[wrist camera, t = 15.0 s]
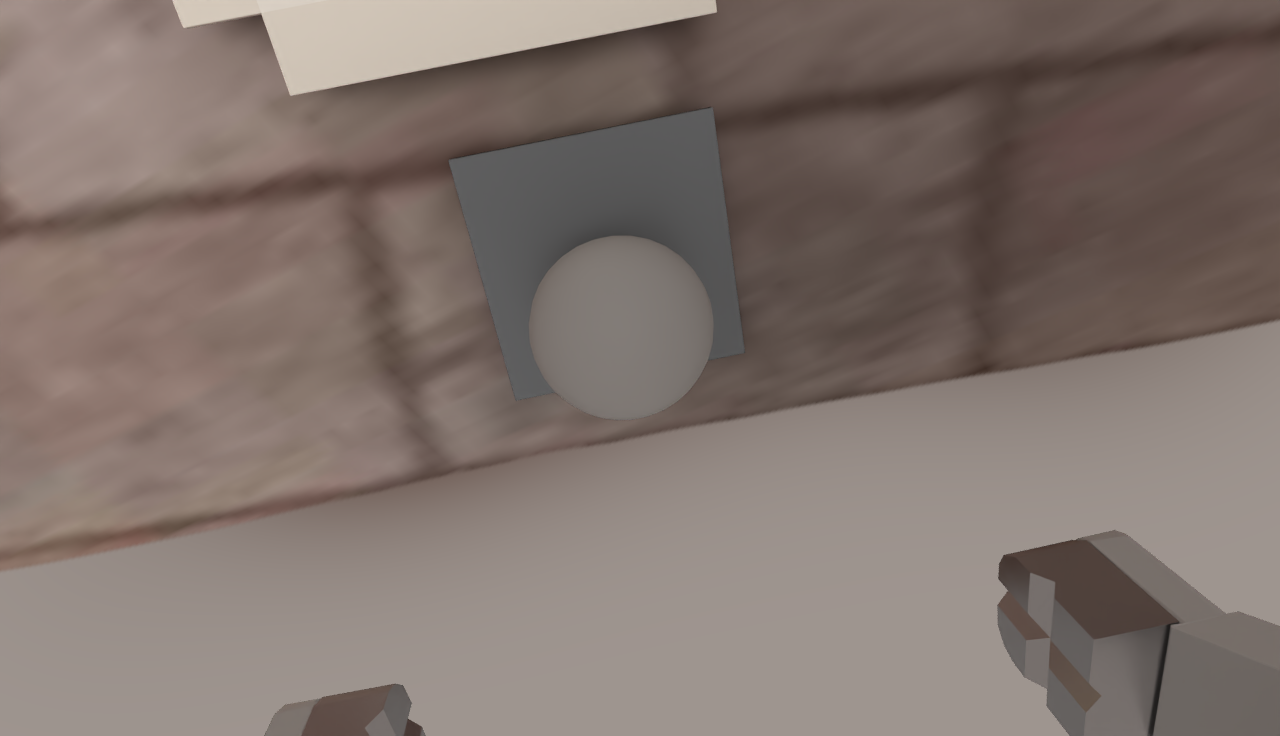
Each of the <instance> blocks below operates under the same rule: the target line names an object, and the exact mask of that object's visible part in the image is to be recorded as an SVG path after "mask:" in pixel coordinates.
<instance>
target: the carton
mask: <svg viewBox="0 0 1280 736" xmlns="http://www.w3.org/2000/svg"><path fill="white" fill-rule="evenodd" d="M172 1H173V3H174V6H175V8H176V11H177V13H178V16H179V18H180V21H181V23H182V26H183V28H186V29H190V28H195V27H200V26H205V25H210V24H215V23H221V22H226V21H231V20H236V19H241V18H247V17H252V16H257V15H262V17H263V20H264V23H265V25H266V28H267V31H268V34H269V37H270V40H271V42H272V45H273V48H274V51H275V54H276V56H277V59H278V62H279V65H280V68H281V71H282V73H283V76H284V79H285V82H286V85H287V87H288V90H289V93H290V96H294V95H300V94H305V93H310V92H315V91H320V90H325V89H330V88H335V87H340V86H346V85H351V84H356V83H361V82H366V81H371V80H376V79H381V78H386V77H391V76H397V75H402V74H407V73H412V72H417V71H422V70H427V69H432V68H437V67H443V66H448V65H453V64H458V63H463V62H468V61H473V60H478V59H483V58H488V57H494V56H499V55H504V54H509V53H514V52H519V51H524V50H529V49H534V48H540V47H545V46H550V45H555V44H560V43H565V42H570V41H575V40H580V39H585V38H591V37H596V36H601V35H606V34H611V33H616V32H621V31H626V30H631V29H637V28H642V27H647V26H652V25H657V24H662V23H667V22H672V21H677V20H682V19H688V18H693V17H698V16H703V15H708V14H713V13H716V12H717V8H716V0H172Z"/></svg>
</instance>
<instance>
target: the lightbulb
mask: <svg viewBox="0 0 1280 736" xmlns="http://www.w3.org/2000/svg"><path fill="white" fill-rule="evenodd" d="M713 327H714V325H713V314H712V308H711V303H710V300H709V297H708V295H707V292H706V289H705V287H704V285H703V284H702V282H701V281H700V279H699V277H698V276H697V274H696V273H695V271H694V270H693V269H692V268H691V266H690V265H689V264H688V263H687V262H686V261H685V260H684V259H683V258H682V257H681V256H680V255H678V254H677V253H675V252H674V251H672V250H671V249H669V248H668V247H666V246H664V245H662V244H659V243H657V242H655V241H652V240H650V239H646V238H641V237H635V236H608V237H603V238H598V239H594V240H591V241H589V242H586V243H584V244H582V245H579V246H577V247H575V248H574V249H572V250H571V251H569V252H568V253H566V254H565V255H564V256H562V257H561V258H560V259H559V260H558V261H557V262H556V263H555V264H554V265H553V266H552V267H551V268H550V269H549V270H548V272H547V273H546V275H545V276H544V278H543V279H542V281H541V282H540V284H539V286H538V288H537V291H536V294H535V296H534V299H533V301H532V307H531V313H530V319H529V339H530V345H531V348H532V352H533V356H534V359H535V361H536V363H537V365H538V367H539V369H540V371H541V373H542V375H543V377H544V379H545V380H546V381H547V383H548V384H549V385H550V386H551V388H552V389H553V390H554V391H555V392H556V393H557V394H558V395H559V396H560V397H562V398H563V399H564V400H565V401H566V402H568V403H569V404H570V405H572V406H574V407H576V408H577V409H579V410H581V411H583V412H585V413H587V414H590V415H593V416H596V417H599V418H604V419H611V420H634V419H638V418H643V417H648V416H651V415H653V414H656V413H658V412H661V411H663V410H665V409H666V408H668V407H670V406H671V405H673V404H674V403H676V402H677V401H679V400H680V399H681V398H682V397H683V396H684V395H685V394H686V393H687V392H688V391H689V390H690V389H691V388H692V386H693V385H694V384H695V382H696V381H697V380H698V378H699V377H700V375H701V373H702V371H703V369H704V367H705V365H706V363H707V361H708V358H709V355H710V351H711V347H712V343H713Z"/></svg>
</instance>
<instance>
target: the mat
mask: <svg viewBox="0 0 1280 736" xmlns="http://www.w3.org/2000/svg"><path fill="white" fill-rule="evenodd" d="M448 161H449V165H450V168H451V172H452V175H453V179H454V182H455V186H456V190H457V193H458V197H459V200H460V204H461V207H462V211H463V214H464V218H465V222H466V225H467V229H468V232H469V236H470V239H471V243H472V247H473V250H474V254H475V257H476V261H477V264H478V268H479V272H480V275H481V279H482V282H483V286H484V289H485V293H486V296H487V300H488V304H489V307H490V311H491V314H492V318H493V321H494V325H495V329H496V332H497V336H498V339H499V343H500V346H501V350H502V353H503V357H504V361H505V364H506V368H507V371H508V375H509V378H510V382H511V386H512V389H513V393H514V396H515V400H516V401H517V400H521V399H526V398H531V397H536V396H541V395H545V394H550V393H555V391H554V390H553V389H552V388H551V386H550V385H549V384H548V383H547V381H546V380H545V379H544V377H543V375H542V373H541V371H540V369H539V367H538V365H537V363H536V361H535V359H534V356H533V352H532V348H531V345H530V339H529V319H530V313H531V307H532V301H533V299H534V296H535V294H536V291H537V288H538V286H539V284H540V282H541V281H542V279H543V278H544V276H545V275H546V273H547V272H548V270H549V269H550V268H551V267H552V266H553V265H554V264H555V263H556V262H557V261H558V260H559V259H560V258H561V257H562V256H564V255H565V254H566V253H568V252H569V251H571V250H572V249H574V248H575V247H577V246H579V245H582V244H584V243H586V242H589V241H591V240H594V239H598V238H603V237H608V236H635V237H641V238H646V239H650V240H652V241H655V242H657V243H659V244H662V245H664V246H666V247H668V248H669V249H671V250H672V251H674V252H675V253H677V254H678V255H680V256H681V257H682V258H683V259H684V260H685V261H686V262H687V263H688V264H689V265H690V266H691V268H692V269H693V270H694V271H695V273H696V274H697V276H698V277H699V279H700V281H701V282H702V284H703V285H704V287H705V289H706V292H707V295H708V297H709V300H710V303H711V308H712V314H713V325H714V327H713V343H712V347H711V351H710V355H709V358H708V360H713V359H718V358H723V357H727V356H732V355H737V354H742V353H745V349H744V341H743V334H742V326H741V318H740V311H739V303H738V296H737V288H736V280H735V273H734V265H733V257H732V250H731V242H730V235H729V227H728V219H727V212H726V204H725V196H724V189H723V181H722V174H721V166H720V158H719V151H718V143H717V135H716V128H715V120H714V113H713V108H712V107H709V108H704V109H699V110H694V111H689V112H684V113H679V114H674V115H669V116H664V117H659V118H654V119H649V120H644V121H639V122H634V123H629V124H624V125H619V126H613V127H608V128H603V129H598V130H593V131H588V132H583V133H578V134H573V135H568V136H563V137H558V138H553V139H548V140H543V141H538V142H533V143H528V144H523V145H518V146H513V147H508V148H503V149H498V150H493V151H488V152H483V153H478V154H473V155H468V156H463V157H458V158H453V159H450V160H448Z"/></svg>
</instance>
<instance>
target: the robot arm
mask: <svg viewBox="0 0 1280 736" xmlns="http://www.w3.org/2000/svg"><path fill="white" fill-rule="evenodd" d="M998 579H999V580H1000V581H1001V583H1002V584H1003V585H1004V586H1005V587H1006V589H1007V590H1008V592H1007V593H1006V594H1005V596H1004V597H1003V598H1002V600H1001V601H1000V603H999V604H998V627H999V630H1000V634H1001V637H1002V640H1003V643H1004V646H1005V648H1006V650H1007V652H1008V654H1009V655H1010V657H1011V659H1012V661H1013V662H1014V664H1015V665H1016V666H1017V668H1018V669H1019V670H1020V672H1021V673H1022V675H1023V676H1024V677H1025V678H1027V679H1029V680H1031V681H1033V682H1035V683H1037V684H1039V685H1041V686H1042V687H1045V688H1046V689H1047V707H1048V709H1049V710H1050V711H1051V712H1052V714H1053V715H1054V716H1055V717H1056V718H1057V720H1058V721H1059V723H1060V724H1061V725H1062V727H1063V728H1064V729H1065V730H1066V732H1067V733H1068V734H1069V736H1280V626H1278V625H1275V624H1272V623H1270V622H1267V621H1264V620H1261V619H1258V618H1256V617H1253V616H1249V615H1247V614H1244V613H1241V612H1234V613H1228V614H1226V613H1225V612H1223V611H1222V610H1221V609H1220V608H1218V607H1217V606H1216V605H1214V604H1213V603H1212V602H1211V601H1209V600H1208V599H1207V598H1206V597H1204V596H1203V595H1202V594H1201V593H1199V592H1198V591H1197V590H1196V589H1194V588H1193V587H1192V586H1191V585H1189V584H1188V583H1187V582H1186V581H1184V580H1183V579H1182V578H1181V577H1179V576H1178V575H1177V574H1176V573H1174V572H1173V571H1172V570H1170V569H1169V568H1168V567H1167V566H1166V565H1164V564H1163V563H1162V562H1161V561H1159V560H1158V559H1157V558H1156V557H1154V556H1153V555H1152V554H1151V553H1149V552H1148V551H1147V550H1146V549H1144V548H1143V547H1142V546H1141V545H1139V544H1138V543H1137V542H1136V541H1134V540H1133V539H1132V538H1131V537H1129V536H1128V535H1126V534H1124V533H1122V532H1118V531H1115V530H1113V531H1109V532H1104V533H1100V534H1095V535H1091V536H1087V537H1082V538H1078V539H1076V540H1070V541H1066V542H1061V543H1056V544H1052V545H1047V546H1043V547H1039V548H1034V549H1029V550H1025V551H1020V552H1016V553H1011V554H1006V555H1004V556H1003V558H1002V559H1001V562H1000V563H999V577H998ZM411 704H412V703H411V701H410V699H409V697H408V694H407V692H406V690H405V688H404V686H403V685H399V684H391V685H385V686H380V687H375V688H369V689H364V690H359V691H353V692H348V693H342V694H337V695H332V696H326V697H322V698H321V699H316V700H309V701H304V702H298V703H293V704H287V705H284V706H283V707H282V708H281V709H280V710H279V711H278V712H277V713H275V715H274V716H273V718H272V721H271V723H270V725H269V727H268V729H267V731H266V733H265V735H264V736H426V735H425V733H424V730H423V728H422V727H421V726H419V725H418V724H416V723H414V722H412V721H411V720H409V719H408V716H409V712H410V708H411Z"/></svg>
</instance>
